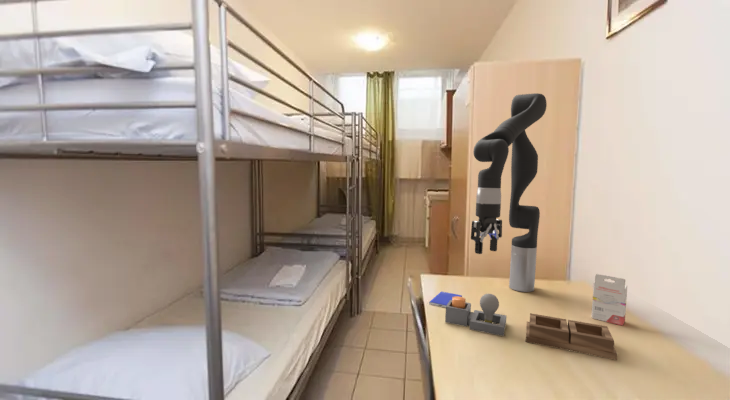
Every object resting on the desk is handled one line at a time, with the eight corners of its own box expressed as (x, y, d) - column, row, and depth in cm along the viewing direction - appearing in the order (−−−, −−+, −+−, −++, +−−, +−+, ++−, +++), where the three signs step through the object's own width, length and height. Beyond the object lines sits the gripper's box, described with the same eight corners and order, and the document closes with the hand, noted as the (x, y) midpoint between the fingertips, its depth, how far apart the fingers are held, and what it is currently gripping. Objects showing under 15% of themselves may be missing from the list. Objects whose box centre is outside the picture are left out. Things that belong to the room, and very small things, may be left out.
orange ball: (453, 306, 115) (453, 295, 115) (466, 308, 114) (466, 297, 113) (450, 310, 112) (451, 299, 112) (463, 313, 110) (464, 301, 110)
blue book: (440, 291, 137) (429, 301, 126) (462, 295, 133) (452, 306, 122) (440, 295, 137) (428, 305, 126) (462, 299, 133) (451, 310, 122)
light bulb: (499, 331, 106) (500, 298, 105) (479, 329, 107) (481, 296, 106) (496, 323, 111) (497, 291, 111) (477, 321, 113) (479, 290, 112)
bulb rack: (526, 326, 110) (527, 311, 110) (608, 341, 101) (610, 325, 101) (525, 341, 100) (526, 326, 100) (616, 360, 91) (618, 342, 91)
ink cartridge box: (625, 321, 115) (629, 276, 113) (622, 326, 111) (626, 279, 110) (593, 313, 121) (597, 270, 119) (590, 318, 117) (594, 273, 116)
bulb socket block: (450, 313, 119) (451, 298, 118) (506, 323, 112) (506, 307, 111) (444, 324, 110) (444, 308, 110) (503, 336, 103) (504, 319, 103)
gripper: (490, 201, 124) (487, 248, 124) (465, 201, 115) (463, 252, 115) (510, 202, 118) (508, 252, 119) (486, 203, 109) (484, 256, 110)
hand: (486, 252), depth 117 cm, fingers open, 8 cm apart
